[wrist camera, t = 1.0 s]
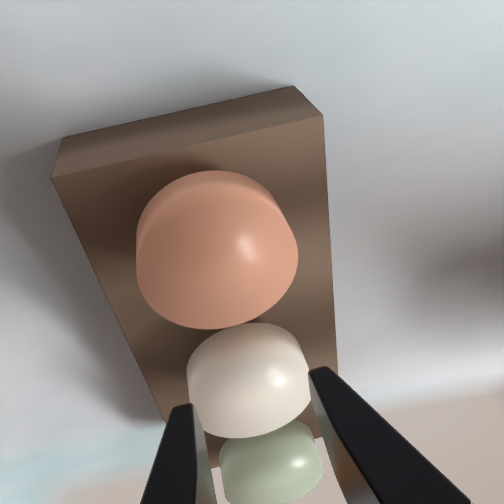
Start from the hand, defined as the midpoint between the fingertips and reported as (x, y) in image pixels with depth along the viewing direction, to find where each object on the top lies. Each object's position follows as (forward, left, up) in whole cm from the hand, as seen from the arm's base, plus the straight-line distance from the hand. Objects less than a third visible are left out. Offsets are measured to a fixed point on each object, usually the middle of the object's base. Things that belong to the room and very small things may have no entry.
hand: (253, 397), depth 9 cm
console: (-4, +5, -10) cm, 12 cm away
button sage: (-8, +9, -6) cm, 13 cm away
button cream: (-4, +5, -6) cm, 8 cm away
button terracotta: (0, 0, -6) cm, 6 cm away
